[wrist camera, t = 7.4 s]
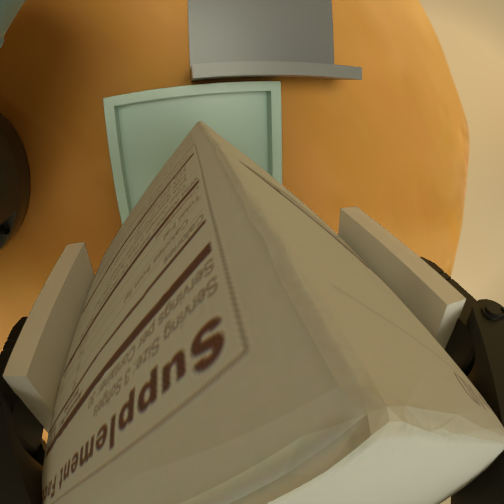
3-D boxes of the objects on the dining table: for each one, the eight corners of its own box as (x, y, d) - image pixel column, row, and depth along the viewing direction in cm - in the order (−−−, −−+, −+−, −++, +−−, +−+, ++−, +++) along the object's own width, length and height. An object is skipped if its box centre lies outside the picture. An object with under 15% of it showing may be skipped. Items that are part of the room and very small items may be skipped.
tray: (131, 246, 29) (129, 257, 27) (108, 97, 22) (103, 98, 20) (275, 228, 31) (281, 237, 29) (273, 81, 24) (280, 81, 23)
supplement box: (323, 217, 15) (520, 444, 4) (224, 323, 17) (290, 570, 6) (200, 112, 12) (450, 423, 1) (98, 250, 13) (30, 559, 2)
